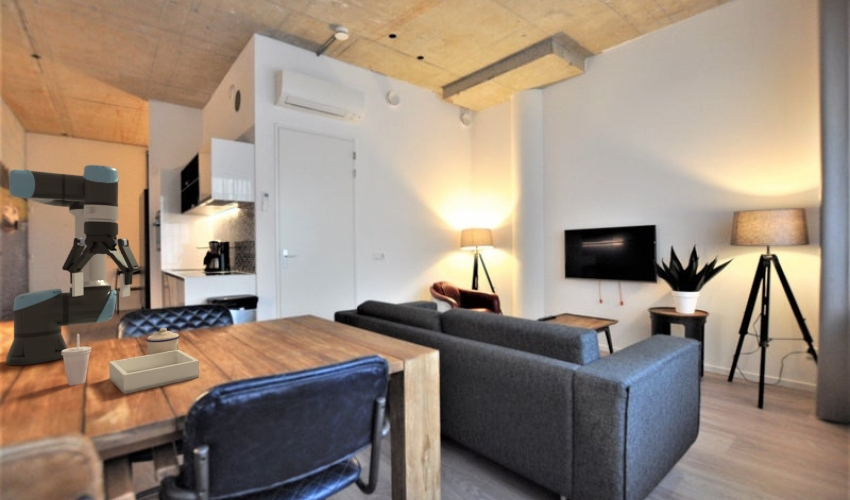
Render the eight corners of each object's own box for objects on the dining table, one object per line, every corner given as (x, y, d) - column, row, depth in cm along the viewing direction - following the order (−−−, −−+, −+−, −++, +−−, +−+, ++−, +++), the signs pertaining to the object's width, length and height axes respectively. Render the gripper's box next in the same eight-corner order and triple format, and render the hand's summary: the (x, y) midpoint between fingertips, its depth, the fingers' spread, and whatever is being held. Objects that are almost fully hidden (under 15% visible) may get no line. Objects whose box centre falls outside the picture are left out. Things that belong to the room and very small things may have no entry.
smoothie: (73, 388, 108) (73, 337, 108) (55, 386, 109) (54, 335, 109) (97, 380, 114) (97, 332, 114) (79, 378, 115) (79, 330, 115)
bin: (109, 378, 115) (109, 361, 115) (178, 364, 129) (178, 349, 129) (124, 394, 103) (124, 375, 103) (198, 377, 117) (198, 360, 117)
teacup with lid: (183, 363, 131) (183, 328, 131) (151, 369, 124) (151, 332, 124) (170, 356, 139) (170, 323, 138) (139, 362, 132) (139, 327, 131)
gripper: (44, 219, 108) (45, 297, 108) (134, 221, 107) (134, 298, 108) (70, 221, 115) (70, 293, 116) (154, 222, 115) (154, 295, 115)
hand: (101, 296), depth 112 cm, fingers open, 13 cm apart
